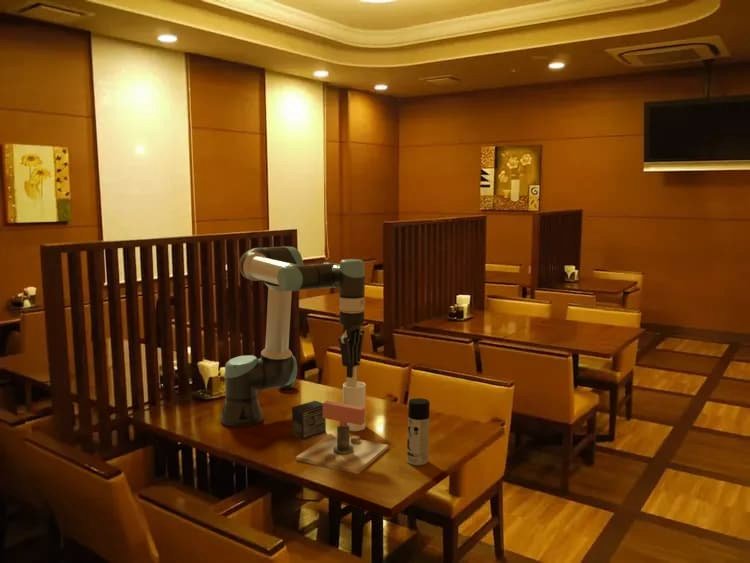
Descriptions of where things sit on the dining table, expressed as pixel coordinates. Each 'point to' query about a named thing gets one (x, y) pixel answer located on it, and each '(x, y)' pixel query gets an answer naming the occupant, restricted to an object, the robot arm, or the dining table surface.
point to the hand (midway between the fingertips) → (351, 386)
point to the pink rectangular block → (344, 413)
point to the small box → (308, 420)
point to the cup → (355, 400)
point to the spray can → (418, 431)
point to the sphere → (288, 385)
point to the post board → (343, 452)
